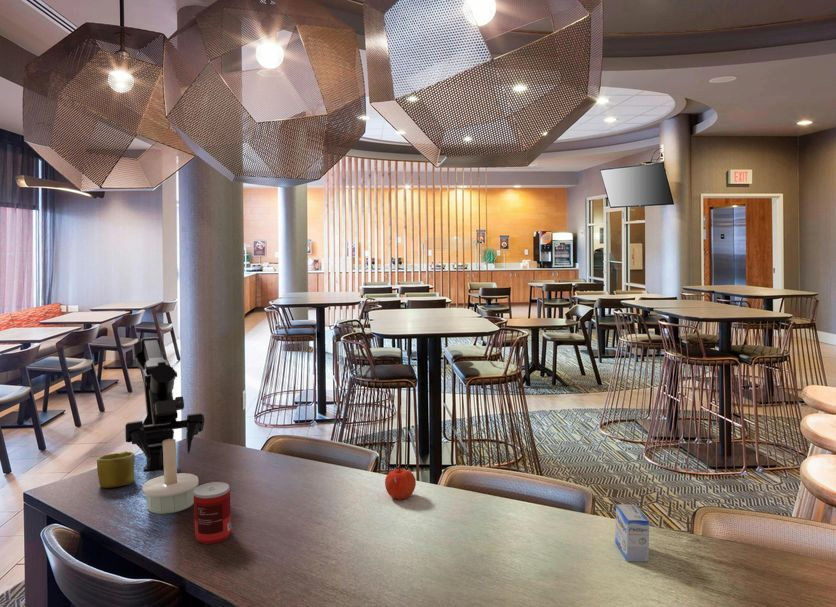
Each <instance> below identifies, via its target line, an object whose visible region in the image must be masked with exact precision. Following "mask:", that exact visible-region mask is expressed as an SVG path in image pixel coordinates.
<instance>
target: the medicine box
mask: <svg viewBox="0 0 836 607" xmlns="http://www.w3.org/2000/svg"><path fill="white" fill-rule="evenodd" d="M615 507H616V508H615V529H614V530H615V532H614V533H615V535H614V537H615V538H614V543H615V545H616V546H617V547H618V549H619V551H620V552H621V554H622V555H623V557H624V559H625V560H626V561H627V562H632V563H633V562H634V563H636V562H637V563H645V562H646V563H647V562H649V558H650V557H649V556H650V553H649V552H650V551H649V550H650V521H649V520H648V518H647V517H646V516H645V515H644V514H643V512H642V511H641V510H640V508H639V507H638V505H636V504H616V506H615Z"/></svg>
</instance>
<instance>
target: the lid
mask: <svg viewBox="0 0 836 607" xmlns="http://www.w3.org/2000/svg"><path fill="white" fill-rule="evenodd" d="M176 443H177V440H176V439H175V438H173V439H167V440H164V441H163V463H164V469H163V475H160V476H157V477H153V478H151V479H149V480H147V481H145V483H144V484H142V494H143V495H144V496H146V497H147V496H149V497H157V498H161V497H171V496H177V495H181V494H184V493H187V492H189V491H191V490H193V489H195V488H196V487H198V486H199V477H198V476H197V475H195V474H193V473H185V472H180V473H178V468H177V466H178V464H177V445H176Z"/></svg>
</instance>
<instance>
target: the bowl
mask: <svg viewBox="0 0 836 607" xmlns="http://www.w3.org/2000/svg"><path fill="white" fill-rule="evenodd" d="M193 493H194V489H193V490H191V491H189V492H187V493H184V494H181V495H177V496H171V497H161V498H157V497H149V496H146V505H147V506H146V507H147V510H148V511H149V513H152V514H156V515H165V514H166V515H167V514H172V513H174V514H175V513H179V512H182V511H186V510H187V509H190V508H191V507H192V506H194V494H193Z"/></svg>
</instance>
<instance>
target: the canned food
mask: <svg viewBox="0 0 836 607" xmlns="http://www.w3.org/2000/svg"><path fill="white" fill-rule="evenodd" d="M193 494H194V504H193V515H194V536H195V539H196V541H197V542H198V543H200V544H205V545H212V544H213V545H214V544H217V543H221V542H224V541H225V540H227V539H228V538H229V537H230V535H231V532H232V513H231V512H232V511H231V507H232V506H231V488H230V485H229V484H228V483H226V482H221V481H212V482H207V483H203V484H201V485H198V486H197V487H196V488H195V489H194V493H193Z"/></svg>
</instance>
